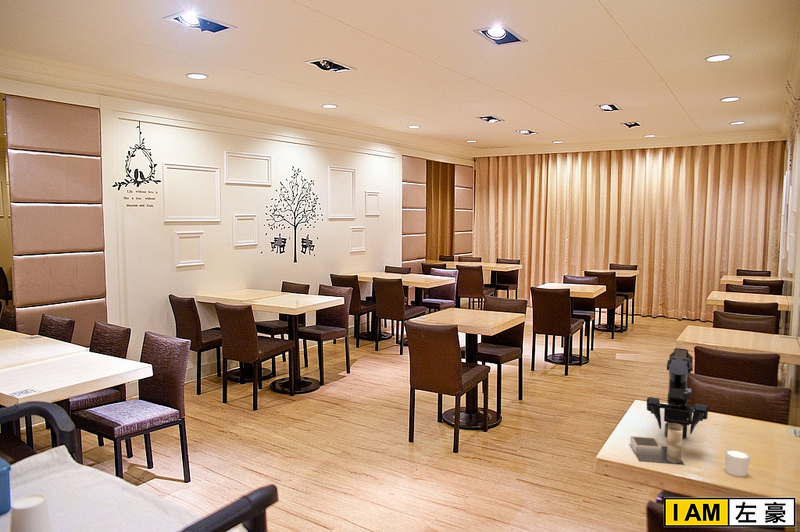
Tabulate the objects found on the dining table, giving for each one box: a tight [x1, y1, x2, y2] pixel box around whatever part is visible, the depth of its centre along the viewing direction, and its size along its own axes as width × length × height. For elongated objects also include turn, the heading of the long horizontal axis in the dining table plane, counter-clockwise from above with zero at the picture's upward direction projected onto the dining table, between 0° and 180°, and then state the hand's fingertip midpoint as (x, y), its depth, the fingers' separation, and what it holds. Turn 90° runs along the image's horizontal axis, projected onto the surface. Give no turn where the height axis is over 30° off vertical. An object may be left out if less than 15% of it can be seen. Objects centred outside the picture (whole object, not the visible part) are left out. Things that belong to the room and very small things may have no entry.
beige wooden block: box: [666, 423, 683, 463], centre depth 185 cm, size 4×4×12 cm
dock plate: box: [629, 435, 685, 466], centre depth 190 cm, size 14×14×4 cm
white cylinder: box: [724, 449, 751, 478], centre depth 177 cm, size 7×7×7 cm
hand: (675, 430), depth 187 cm, fingers open, 9 cm apart
